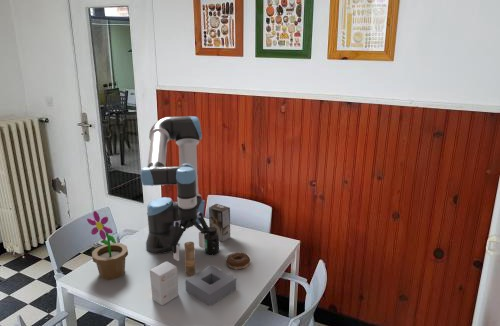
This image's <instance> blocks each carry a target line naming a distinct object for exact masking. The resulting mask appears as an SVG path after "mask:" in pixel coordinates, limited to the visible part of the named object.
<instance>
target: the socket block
mask: <svg viewBox="0 0 500 326" xmlns="http://www.w3.org/2000/svg"><path fill="white" fill-rule="evenodd" d="M236 290H237V277H235V276H233V275H231V274H229V273H227V272H225V271H224V270H222V269H220V268H218V267H216V266H215V265H213V264H211V265H209V266H208V267H206V268H204V269H202V270H201V271H199V272H196V273H195V274H194V275H193V276H188V277H187V278H186V279H185V291H186V292H188V293H189V294H191V295H192V296H194V297H196V298H197V299H198V300H199V301H202V302H203V303H205V304H206V305H208V306H210V307H211V306H213V305H214V304H215V303H218V302H219V301H221V300H222V299H223V298H225V297H227V296H228V295H229V294H231V293H233V292H234V291H236Z"/></svg>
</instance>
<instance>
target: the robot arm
mask: <svg viewBox="0 0 500 326" xmlns="http://www.w3.org/2000/svg"><path fill="white" fill-rule="evenodd" d="M148 137H149V140H150V141H149V143H150V145H149V150H148V151H149V152H148V158H147V159H148V160H147V166H146V167H142V168H141V169H140V181H141V184H142V185H143V186H151V187H153V186H165V185H166V186H168V185H169V186H170V185H171V186H172V185H176V189H177V190H176V191H177V197H176V200H177V201H173V199H172V198H171V197H165V196H164V197H158V198H155V199H153V200H151V201H149V203H148V204H147V206H146V207H147V209H146V210H147V212H146V216H147V223H148V224H147V226H148V234H147V239H146V241H145V248H146V250H147V251H148V252H150V253H151V254H152V253H153V254H167V253H170V252H172V254H173V259H174V260H175V261H177V262H178V261H180V250H179V249H180V247H179V245H180V244H179V241H180V240H181V238H182V236H183V234H184V232H186V230H187V229H189V228H192V227H195V228H196V229H197V230H199V232H198V246H199V247H200V248H202V249H205V243H204V239H205V234H206V233H207V230H209V225H208V223H207V221H206V220H205V218H204V216H205V215H204V214H205V213H204V212H205V204H206V203H205V202H206V200H204V199H203V198H202V195H201V194H200V193H199V182H198V181H199V180H198V179H199V178H198V177H199V176H198V157H197V156H198V155H197V154H198V153H197V147H198V145H199V143H200V140H202V139H203V134H202V127H201V122H200V119H199V117H198V116H192V115H191V116H190V115H188V116H187V115H186V116H183V115H182V116H165V117H163V118H161V119H159V120H157V121H156V122H155V123H154V124H153V125H152V126H151V129H150V130H149V136H148ZM169 141H175V144H176V145H177V146H178V157H179V159H178V160H179V161H178V162H179V165H178V166H177V165H176V166H174V165H173V166H166V164H167V153H168V151H167V149H168V142H169Z"/></svg>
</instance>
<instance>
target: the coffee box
mask: <svg viewBox="0 0 500 326" xmlns="http://www.w3.org/2000/svg"><path fill="white" fill-rule="evenodd" d="M208 221H209V222H208V223H209V225H208V227H215V228H217V233H218V235H219V241H221V242H225V241H226V240H228V239H229V238H231V207H229V206H225V205H223V204H219V203H215V204H213V205H212V204H211V206H209V207H208Z"/></svg>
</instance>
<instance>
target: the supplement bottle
mask: <svg viewBox="0 0 500 326" xmlns="http://www.w3.org/2000/svg"><path fill="white" fill-rule="evenodd" d="M208 227H209V226H208ZM204 243H205V248H204V254H205V255H207V256H216V255H218V254H219V252H220V240H219V235H218V233H217V228H215V227H209V230H207V233H206V234H205V239H204Z"/></svg>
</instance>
